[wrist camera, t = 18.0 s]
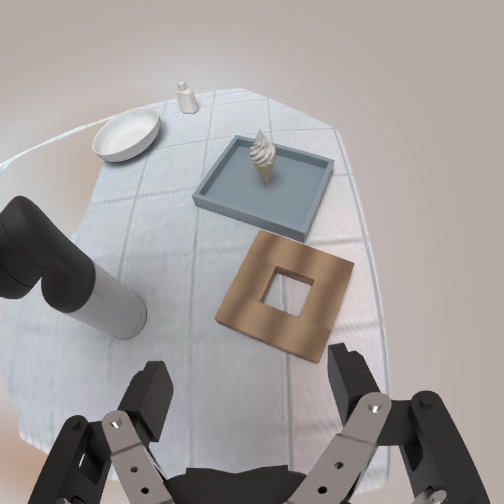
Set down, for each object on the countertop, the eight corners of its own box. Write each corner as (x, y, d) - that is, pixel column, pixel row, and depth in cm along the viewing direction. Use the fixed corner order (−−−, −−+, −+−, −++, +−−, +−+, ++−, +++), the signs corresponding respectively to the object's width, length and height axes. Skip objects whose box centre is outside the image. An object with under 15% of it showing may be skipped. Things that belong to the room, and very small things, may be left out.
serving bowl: (164, 114, 79) (158, 97, 72) (167, 155, 69) (159, 136, 63) (105, 137, 78) (96, 122, 72) (98, 182, 68) (87, 165, 62)
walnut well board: (218, 322, 48) (214, 318, 45) (261, 237, 55) (259, 229, 52) (316, 363, 43) (318, 362, 41) (350, 270, 50) (354, 263, 47)
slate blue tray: (196, 206, 60) (191, 196, 57) (237, 145, 68) (235, 135, 64) (304, 242, 54) (305, 233, 50) (332, 170, 61) (334, 160, 58)
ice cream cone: (268, 172, 61) (263, 118, 48) (283, 185, 59) (280, 130, 46) (249, 183, 60) (240, 129, 47) (263, 197, 58) (257, 142, 45)
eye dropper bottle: (186, 117, 76) (176, 84, 65) (180, 110, 78) (170, 79, 68) (199, 111, 77) (190, 78, 66) (193, 104, 79) (184, 73, 68)
